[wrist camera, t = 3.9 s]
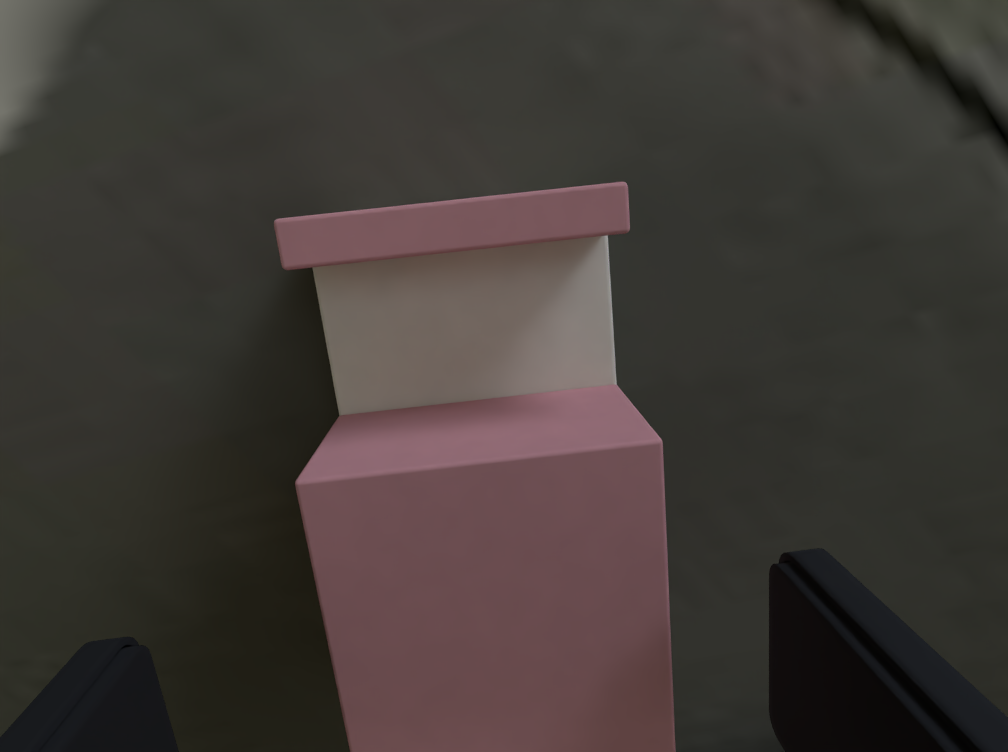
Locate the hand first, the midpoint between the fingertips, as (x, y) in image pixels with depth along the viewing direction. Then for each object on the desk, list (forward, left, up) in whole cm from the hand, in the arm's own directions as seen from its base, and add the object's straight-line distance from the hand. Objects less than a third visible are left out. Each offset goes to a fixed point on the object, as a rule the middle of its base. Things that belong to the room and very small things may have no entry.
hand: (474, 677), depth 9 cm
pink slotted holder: (-1, 0, -6) cm, 6 cm away
